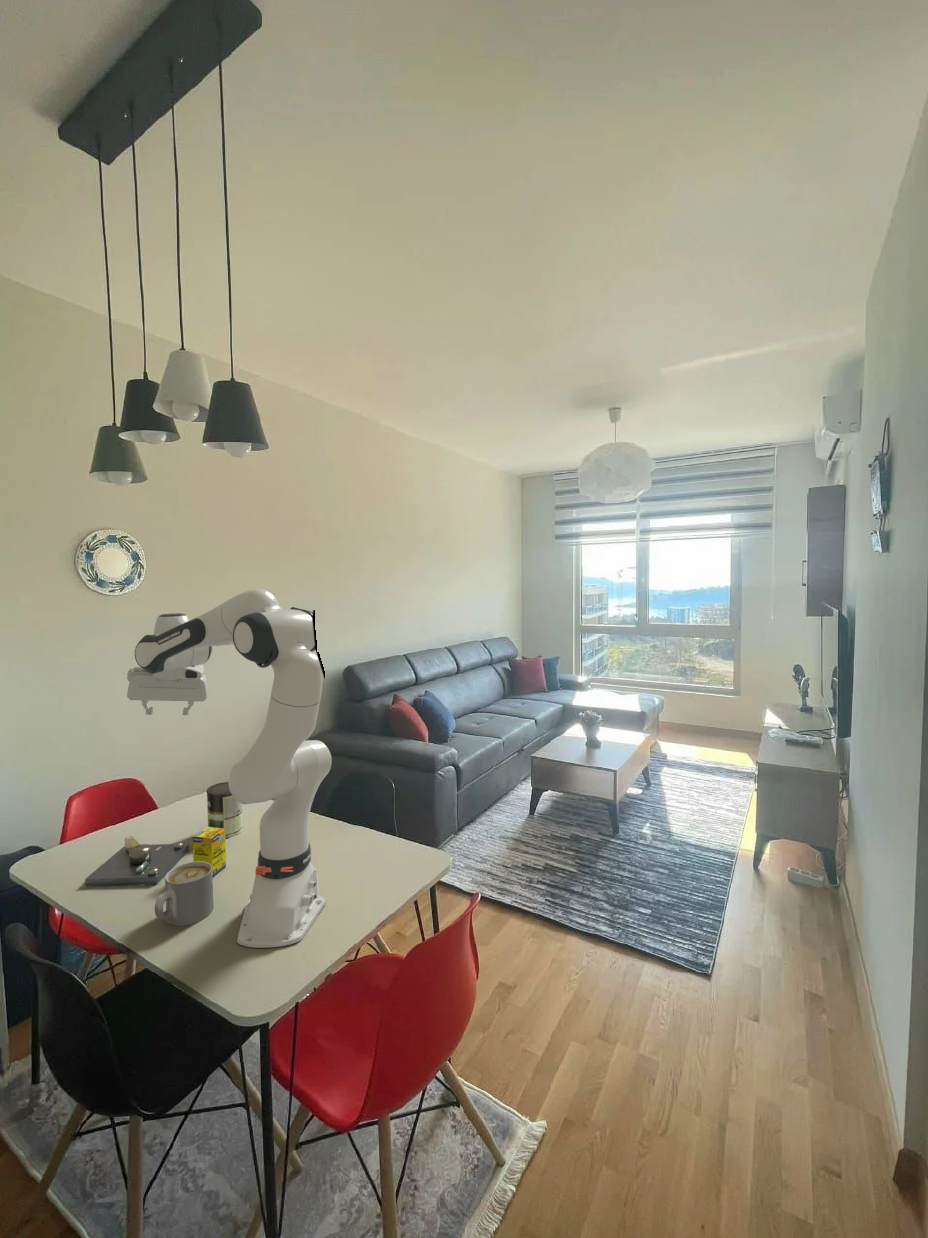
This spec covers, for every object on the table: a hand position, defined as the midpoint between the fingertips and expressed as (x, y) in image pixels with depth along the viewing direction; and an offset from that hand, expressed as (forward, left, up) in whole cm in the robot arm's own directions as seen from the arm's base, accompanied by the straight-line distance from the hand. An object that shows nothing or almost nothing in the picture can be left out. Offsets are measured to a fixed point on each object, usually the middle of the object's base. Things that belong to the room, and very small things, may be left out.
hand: (167, 714), depth 155 cm
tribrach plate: (-10, +4, -40) cm, 42 cm away
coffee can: (+11, -11, -41) cm, 43 cm away
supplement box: (-13, -16, -41) cm, 45 cm away
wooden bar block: (-7, +7, -38) cm, 39 cm away
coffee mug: (-33, -18, -41) cm, 55 cm away
